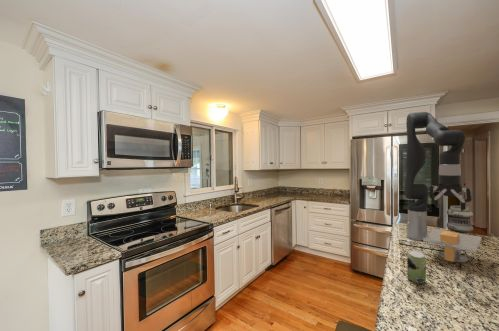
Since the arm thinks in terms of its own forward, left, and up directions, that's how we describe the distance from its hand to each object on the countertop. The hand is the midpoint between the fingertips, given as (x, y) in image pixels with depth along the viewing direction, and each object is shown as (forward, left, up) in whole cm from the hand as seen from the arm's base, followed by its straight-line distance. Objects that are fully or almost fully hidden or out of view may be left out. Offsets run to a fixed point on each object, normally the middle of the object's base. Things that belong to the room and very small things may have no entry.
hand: (449, 209), depth 103 cm
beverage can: (-6, -28, -26) cm, 38 cm away
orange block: (0, 0, -24) cm, 24 cm away
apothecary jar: (-3, +49, -26) cm, 56 cm away
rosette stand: (0, +5, -26) cm, 26 cm away
